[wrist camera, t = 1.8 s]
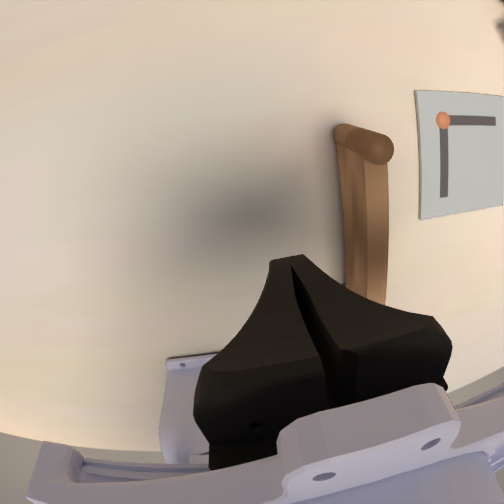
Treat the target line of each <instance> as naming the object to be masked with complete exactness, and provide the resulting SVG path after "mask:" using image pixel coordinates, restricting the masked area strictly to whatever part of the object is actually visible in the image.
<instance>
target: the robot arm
mask: <svg viewBox="0 0 504 504" xmlns="http://www.w3.org/2000/svg"><path fill="white" fill-rule="evenodd" d="M451 352H452V342H451V340H450V338H449V337H448V335H447V334H446V332H445V331H444V330H443V328H442V327H441V325H440V324H439V323H438V322H437V321H436V320H435V318H434V317H433V316H428V315H422V314H416V313H411V312H406V311H402V310H399V309H395V308H392V307H388V306H385V305H382V304H380V303H377V302H375V301H372V300H370V299H367V298H365V297H363V296H361V295H359V294H357V293H355V292H353V291H351V290H349V289H348V288H346V287H344V286H343V285H341V284H340V283H338V282H337V281H335V280H334V279H332V278H331V277H330V276H328V275H327V274H326V273H325V272H323V271H322V270H321V269H320V268H318V267H317V266H316V265H315V264H314V263H313V262H311V261H310V260H309V259H308V258H307V257H306V256H305V255H303V254H302V255H296V256H291V257H285V258H280V259H275V260H271V262H270V263H269V273H268V277H267V280H266V283H265V286H264V289H263V292H262V294H261V296H260V298H259V301H258V303H257V305H256V307H255V309H254V310H253V312H252V314H251V315H250V317H249V319H248V320H247V322H246V323H245V324H244V326H243V327H242V329H241V330H240V331H239V332H238V334H237V335H236V336H235V337H234V338H233V339H232V340H231V341H230V343H229V344H228V345H227V346H226V347H225V348H224V349H223V350H221V351H220V352H219V353H218V354H210V355H202V356H194V357H186V358H177V359H169V360H167V361H166V367H167V369H168V371H169V372H168V377H167V383H166V388H165V394H164V400H163V406H162V412H161V418H160V426H159V437H160V446H161V451H162V454H163V457H164V459H165V461H166V463H167V464H154V463H153V464H152V463H134V462H133V463H132V462H119V461H110V460H100V459H92V458H85V457H83V456H82V455H81V454H80V453H79V452H78V451H77V450H76V449H75V448H73V447H71V446H69V445H65V444H60V443H54V442H48V441H43V443H42V446H41V449H40V451H39V454H38V457H37V460H36V464H35V467H34V470H33V473H32V476H31V479H30V483H29V487H28V490H27V493H26V498H27V499H28V500H30V501H31V502H33V503H35V504H504V496H503V494H502V491H501V489H500V487H499V484H498V482H497V480H496V477H495V475H494V473H495V472H496V471H497V470H499V469H501V468H502V467H504V382H503V383H501V384H499V385H497V386H496V387H493V388H491V389H490V390H488V391H486V392H484V393H482V394H480V395H478V396H475V397H474V398H471V399H469V400H467V401H465V402H463V403H461V404H458V405H456V406H453V404H452V402H451V401H450V399H449V397H448V395H447V393H446V391H447V389H448V385H447V383H446V382H445V380H444V378H443V376H444V373H445V371H446V368H447V365H448V362H449V360H450V357H451ZM182 363H184V364H182Z"/></svg>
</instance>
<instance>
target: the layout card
mask: <svg viewBox="0 0 504 504" xmlns="http://www.w3.org/2000/svg"><path fill="white" fill-rule="evenodd" d="M414 93H415V102H416V113H417V125H418V142H419V177H420V189H419V219H420V220H426V219H431V218H437V217H442V216H448V215H453V214H459V213H464V212H469V211H475V210H480V209H486V208H491V207H497V206H502V205H503V200H504V97H502V96H494V95H485V94H475V93H462V92H446V91H414Z"/></svg>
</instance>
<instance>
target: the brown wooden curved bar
mask: <svg viewBox="0 0 504 504" xmlns="http://www.w3.org/2000/svg"><path fill="white" fill-rule="evenodd" d="M334 140H335V142H336V146H337V155H338V164H339V174H340V185H341V197H342V210H343V225H344V243H345V268H346V288H348V289H349V290H351V291H353V292H355V293H357V294H359V295H361V296H363V297H365V298H367V299H370V300H372V301H375V302H377V303H380V304H382V305H385V300H386V286H387V269H388V240H389V197H388V169H387V162H389V161H390V159H391V158H392V156H393V153H394V146H393V143H392V141H391V139H390V138H389V137H387V136H386V135H383V134H380V133H377V132H373V131H370V130H367V129H363V128H360V127H356V126H353V125H349V124H341V125H339V126H338V127H337V128H336V129H335V131H334Z"/></svg>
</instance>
